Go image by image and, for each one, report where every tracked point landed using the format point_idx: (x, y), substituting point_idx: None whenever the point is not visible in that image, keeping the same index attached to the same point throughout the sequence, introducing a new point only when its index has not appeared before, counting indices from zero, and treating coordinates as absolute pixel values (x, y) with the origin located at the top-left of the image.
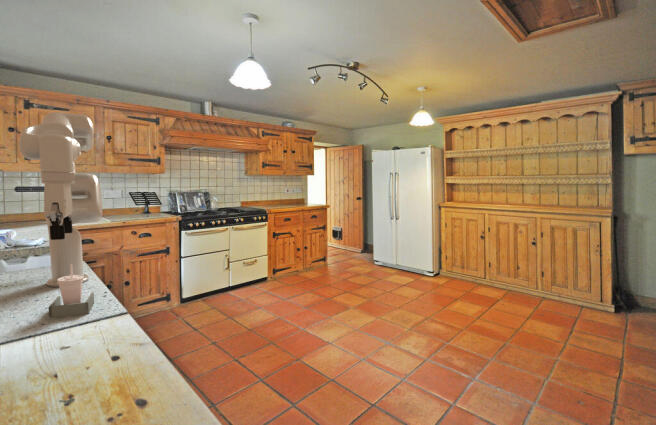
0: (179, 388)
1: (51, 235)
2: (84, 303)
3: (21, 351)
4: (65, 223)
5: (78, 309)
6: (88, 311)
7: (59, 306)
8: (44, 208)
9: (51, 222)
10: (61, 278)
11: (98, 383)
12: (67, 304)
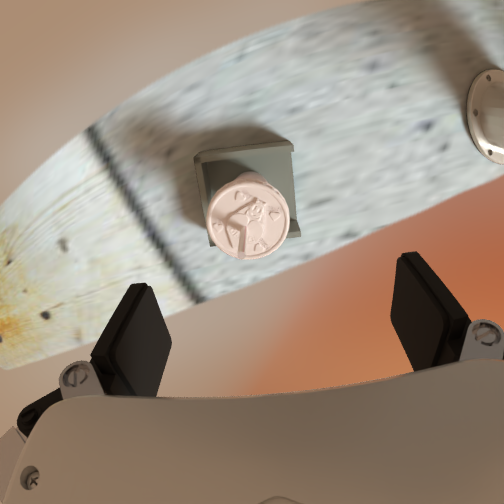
0: (18, 362)
1: (125, 305)
2: (209, 238)
3: (53, 180)
4: (422, 345)
5: None
6: None
7: (198, 182)
8: (6, 492)
9: (44, 400)
10: (252, 191)
11: (7, 306)
12: (205, 200)
